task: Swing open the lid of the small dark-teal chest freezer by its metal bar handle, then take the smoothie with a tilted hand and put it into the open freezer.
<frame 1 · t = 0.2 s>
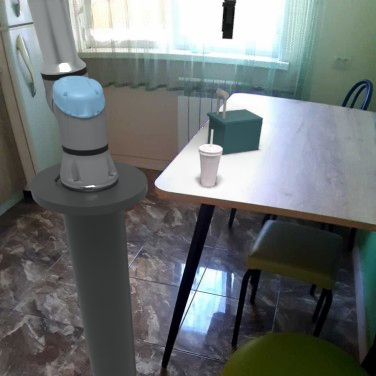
hand: (226, 35, 113), 31 cm above the table, tool pointing down, fingers open, 13 cm apart
freezer: (232, 146, 137), on the table
freezer lid: (236, 104, 128), point 13 cm above the table, hinge at 0.0°
smoothie: (208, 184, 114), on the table
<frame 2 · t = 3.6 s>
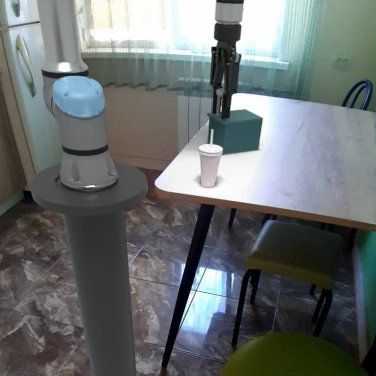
hand: (220, 115, 128), 10 cm above the table, tool pointing down, fingers closed on freezer lid, 5 cm apart
freezer lid: (236, 104, 128), point 13 cm above the table, hinge at 0.0°, touching gripper
everything else where it was.
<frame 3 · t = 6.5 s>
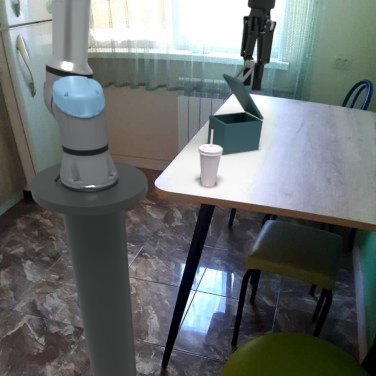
hand: (250, 87, 127), 17 cm above the table, tool pointing down, fingers closed on freezer lid, 5 cm apart
freezer lid: (251, 87, 127), point 17 cm above the table, hinge at 47.9°, touching gripper
everything else where it was.
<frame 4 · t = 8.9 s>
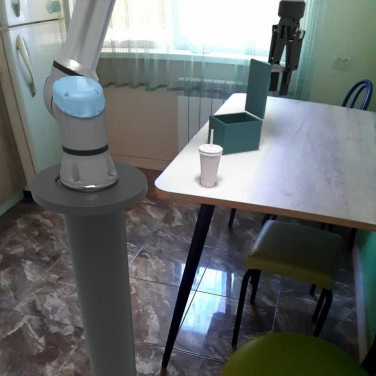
hand: (277, 93, 132), 15 cm above the table, tool pointing down, fingers closed on freezer lid, 5 cm apart
freezer lid: (267, 88, 129), point 16 cm above the table, hinge at 90.2°, touching gripper
everything else where it was.
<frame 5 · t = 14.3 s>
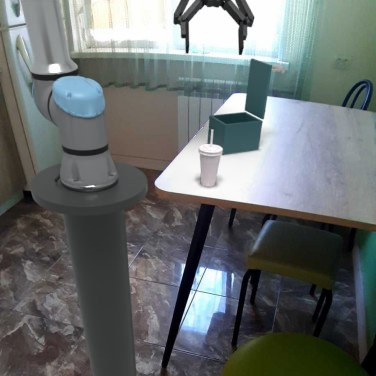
hand: (214, 50, 103), 29 cm above the table, tool tilted 45°, fingers open, 13 cm apart
freezer lid: (267, 88, 129), point 16 cm above the table, hinge at 90.3°
everything else where it was.
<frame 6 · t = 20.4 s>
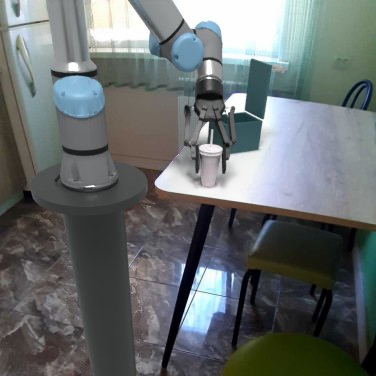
hand: (210, 171, 108), 5 cm above the table, tool tilted 45°, fingers closed on smoothie, 6 cm apart
smoothie: (208, 184, 114), on the table, touching gripper
everything else where it was.
when the fingers open (16 cm above the table, at t = 37.3 s): smoothie drops 10 cm, resting on freezer.
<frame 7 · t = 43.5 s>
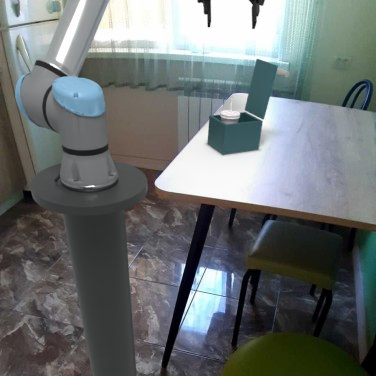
hand: (232, 24, 122), 32 cm above the table, tool tilted 45°, fingers open, 13 cm apart
freezer lid: (269, 90, 130), point 16 cm above the table, hinge at 98.9°
smoothie: (227, 145, 136), point 1 cm above the table, touching freezer
at the end: freezer lid at +99° (first picture: +0°); smoothie inside the target area in the freezer (2.2 cm from its centre), point 0.6 cm above the freezer's base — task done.
